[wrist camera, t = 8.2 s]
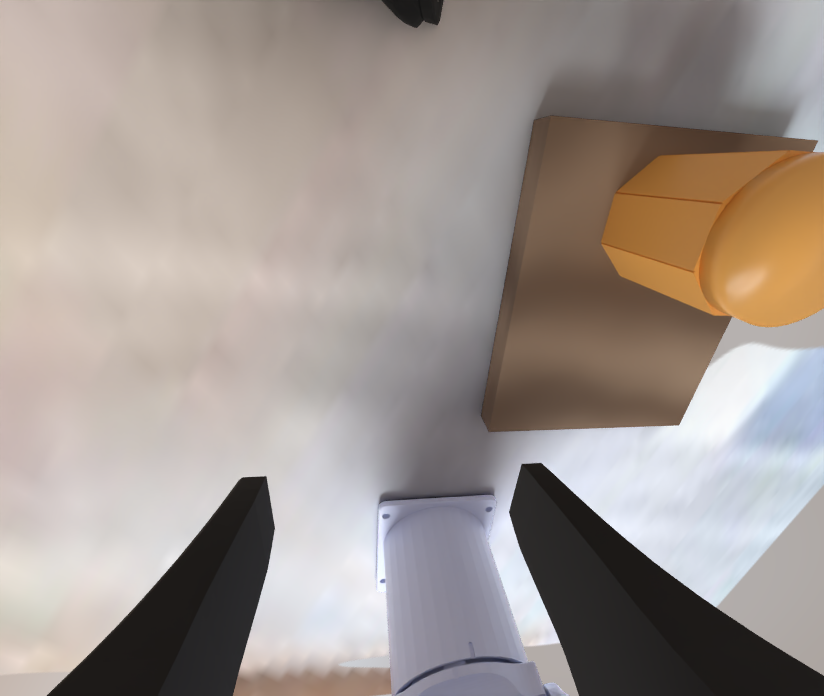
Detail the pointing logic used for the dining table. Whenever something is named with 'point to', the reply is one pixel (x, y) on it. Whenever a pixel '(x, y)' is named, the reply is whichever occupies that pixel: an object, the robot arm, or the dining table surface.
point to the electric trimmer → (416, 10)
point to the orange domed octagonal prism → (726, 233)
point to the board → (595, 289)
